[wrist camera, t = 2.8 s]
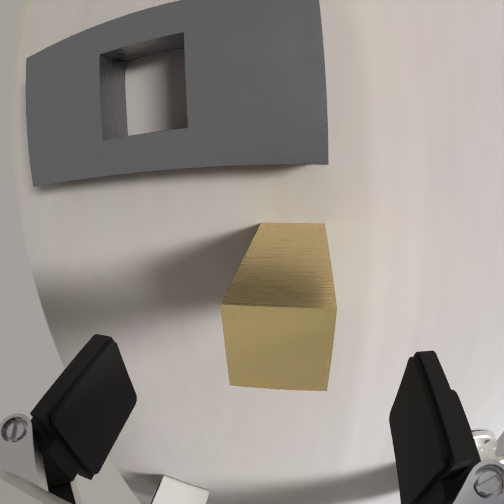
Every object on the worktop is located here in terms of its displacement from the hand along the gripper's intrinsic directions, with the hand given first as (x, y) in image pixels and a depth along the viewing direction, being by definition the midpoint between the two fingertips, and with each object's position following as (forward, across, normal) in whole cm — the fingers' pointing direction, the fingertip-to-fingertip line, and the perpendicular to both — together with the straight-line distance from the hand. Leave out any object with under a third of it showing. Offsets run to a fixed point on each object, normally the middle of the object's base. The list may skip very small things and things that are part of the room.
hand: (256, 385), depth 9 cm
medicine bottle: (+12, +14, +40) cm, 44 cm away
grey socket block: (+13, +7, -10) cm, 18 cm away
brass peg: (+12, -1, +1) cm, 12 cm away
